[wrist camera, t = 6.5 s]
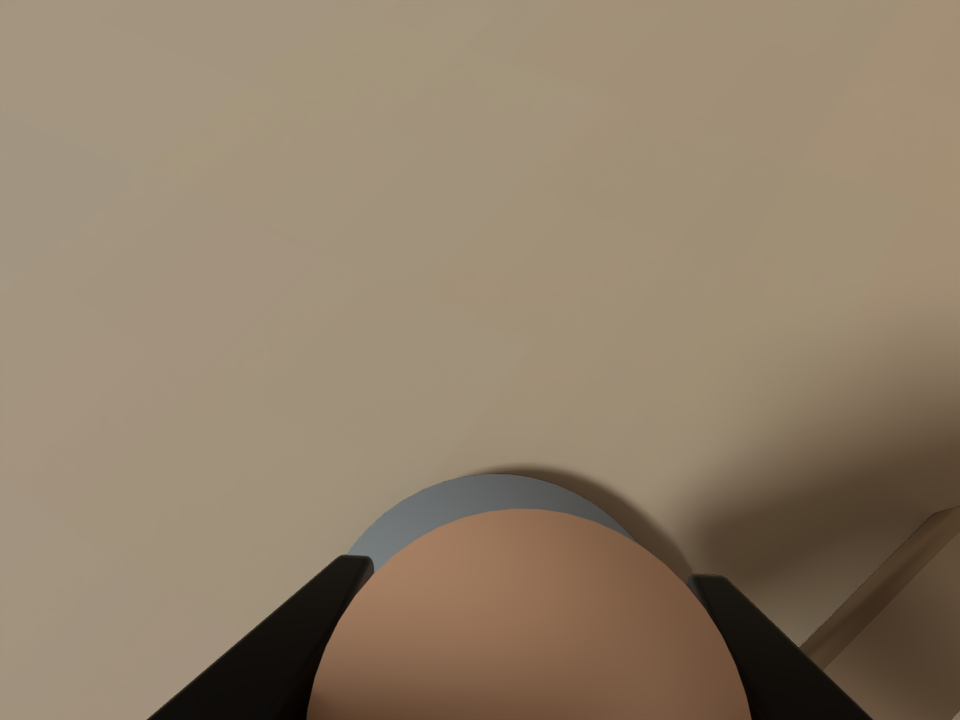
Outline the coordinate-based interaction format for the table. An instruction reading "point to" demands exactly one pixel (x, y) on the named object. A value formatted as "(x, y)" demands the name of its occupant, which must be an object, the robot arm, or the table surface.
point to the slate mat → (469, 510)
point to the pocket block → (901, 630)
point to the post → (526, 631)
